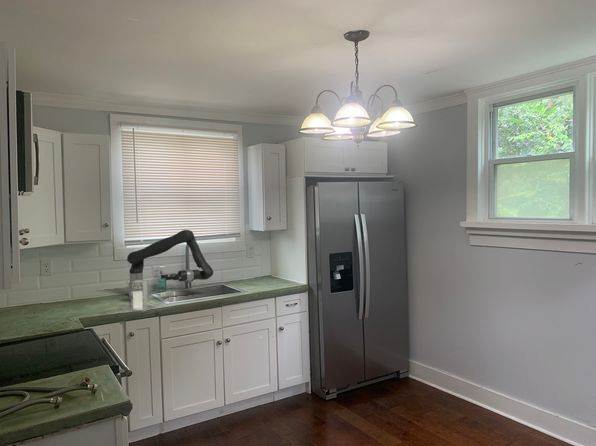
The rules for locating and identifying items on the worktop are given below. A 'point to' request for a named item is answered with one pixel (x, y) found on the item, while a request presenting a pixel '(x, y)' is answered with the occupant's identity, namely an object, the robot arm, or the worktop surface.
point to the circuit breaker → (142, 289)
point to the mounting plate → (144, 308)
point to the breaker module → (136, 299)
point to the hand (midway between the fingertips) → (163, 277)
